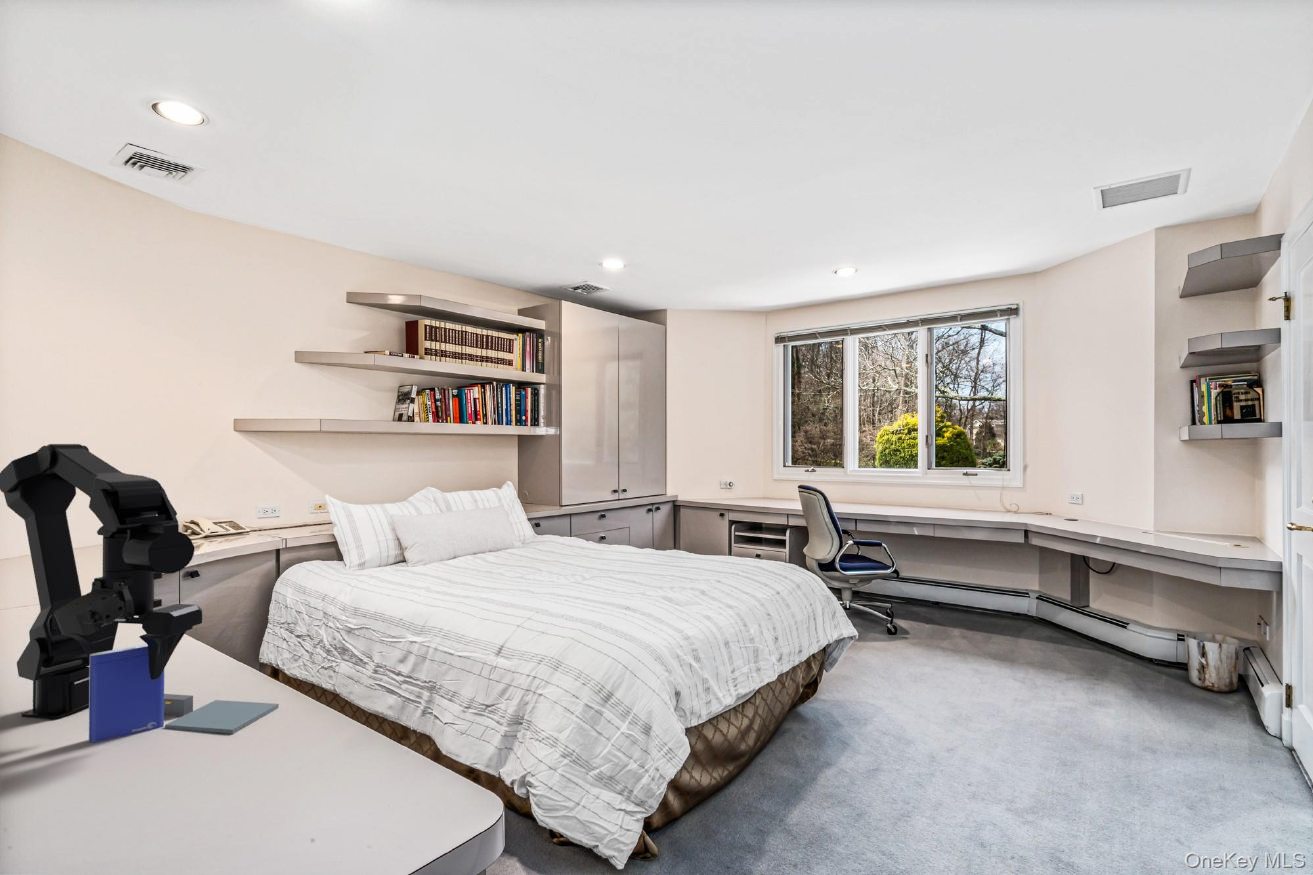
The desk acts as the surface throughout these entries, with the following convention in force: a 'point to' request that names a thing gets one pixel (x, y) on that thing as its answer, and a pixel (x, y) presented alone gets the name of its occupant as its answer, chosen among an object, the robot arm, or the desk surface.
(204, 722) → the mat
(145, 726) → the hard drive
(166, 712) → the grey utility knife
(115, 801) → the desk surface
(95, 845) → the desk surface
